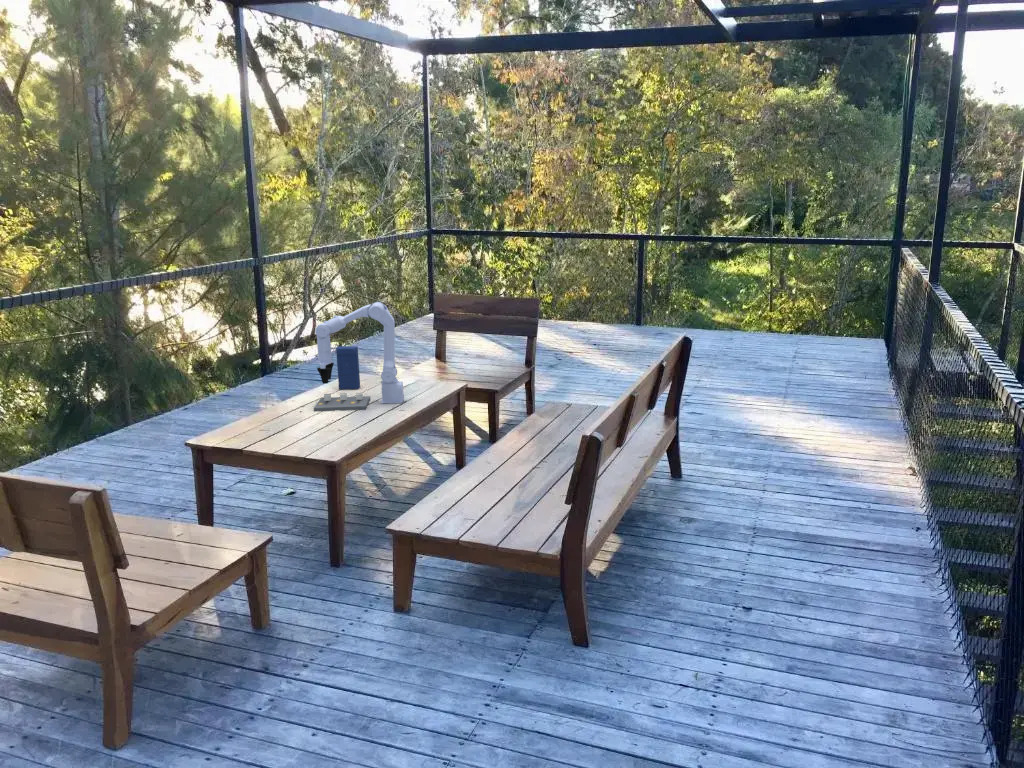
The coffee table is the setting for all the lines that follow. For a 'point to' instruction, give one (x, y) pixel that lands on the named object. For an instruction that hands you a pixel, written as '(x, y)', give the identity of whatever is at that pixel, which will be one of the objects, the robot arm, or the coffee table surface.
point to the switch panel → (342, 404)
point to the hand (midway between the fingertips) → (326, 381)
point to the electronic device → (348, 367)
